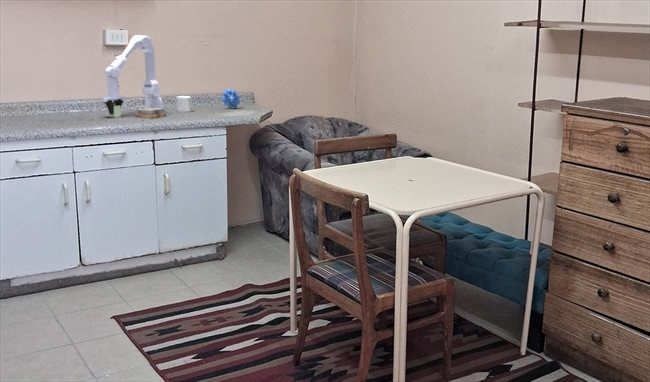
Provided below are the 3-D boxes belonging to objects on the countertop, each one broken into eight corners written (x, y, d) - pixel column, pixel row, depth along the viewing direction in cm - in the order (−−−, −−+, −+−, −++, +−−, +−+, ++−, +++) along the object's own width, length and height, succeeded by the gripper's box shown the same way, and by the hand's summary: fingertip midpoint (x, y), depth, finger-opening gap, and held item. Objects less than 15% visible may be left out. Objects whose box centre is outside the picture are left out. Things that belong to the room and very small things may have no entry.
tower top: (149, 111, 407) (149, 107, 407) (163, 113, 403) (163, 108, 402) (137, 113, 398) (137, 109, 398) (151, 115, 394) (151, 110, 394)
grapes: (223, 109, 434) (223, 89, 431) (220, 108, 440) (220, 88, 437) (242, 108, 438) (242, 89, 435) (238, 107, 444) (238, 87, 441)
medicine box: (192, 111, 426) (191, 96, 424) (189, 112, 422) (189, 97, 420) (178, 110, 427) (178, 96, 425) (176, 111, 423) (176, 96, 421)
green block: (114, 115, 403) (114, 105, 402) (120, 116, 401) (120, 105, 400) (108, 116, 399) (108, 105, 398) (115, 117, 397) (114, 106, 396)
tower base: (149, 116, 409) (149, 111, 408) (166, 117, 404) (166, 113, 403) (135, 118, 399) (135, 114, 398) (152, 120, 393) (151, 115, 393)
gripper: (117, 87, 404) (118, 111, 408) (98, 89, 392) (99, 114, 395) (126, 88, 401) (128, 112, 405) (107, 90, 389) (109, 115, 392)
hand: (114, 113), depth 400 cm, fingers closed on green block, 4 cm apart
